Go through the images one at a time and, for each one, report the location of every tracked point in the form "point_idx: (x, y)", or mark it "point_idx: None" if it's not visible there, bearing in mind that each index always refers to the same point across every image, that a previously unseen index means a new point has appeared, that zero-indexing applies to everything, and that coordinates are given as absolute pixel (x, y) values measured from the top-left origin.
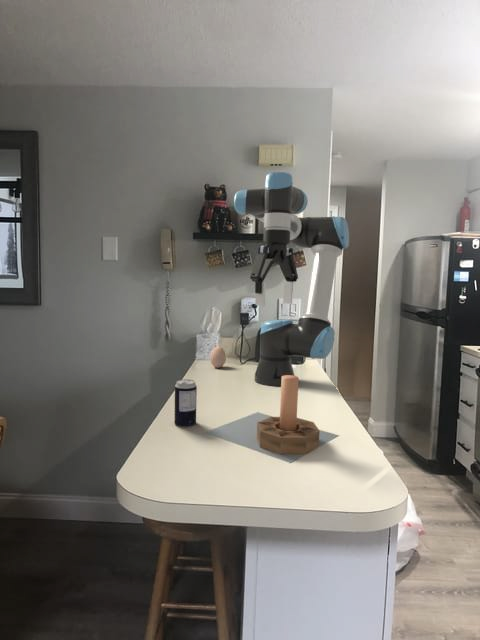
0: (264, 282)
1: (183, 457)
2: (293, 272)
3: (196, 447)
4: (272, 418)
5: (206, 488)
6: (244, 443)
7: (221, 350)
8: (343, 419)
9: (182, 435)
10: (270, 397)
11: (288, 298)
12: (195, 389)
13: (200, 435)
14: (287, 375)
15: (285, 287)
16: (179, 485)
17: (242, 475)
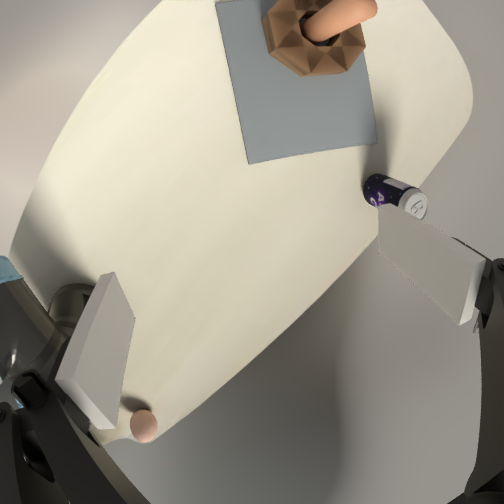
0: (480, 259)
1: (425, 106)
2: (22, 462)
3: (403, 116)
4: (314, 65)
5: (436, 43)
6: (360, 74)
7: (140, 431)
8: (128, 58)
9: (395, 160)
10: (155, 236)
11: (114, 305)
12: (404, 188)
13: (380, 144)
14: (356, 12)
15: (113, 380)
16: (449, 66)
17: (402, 30)
